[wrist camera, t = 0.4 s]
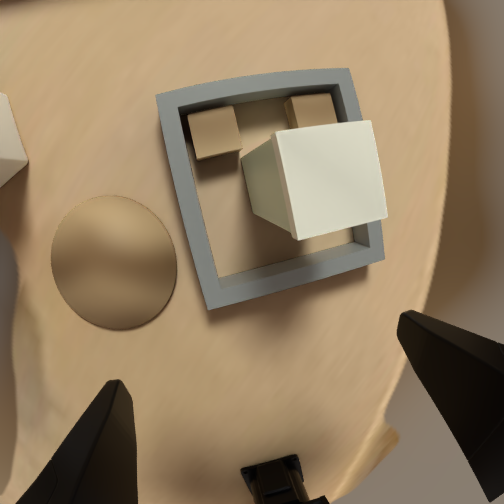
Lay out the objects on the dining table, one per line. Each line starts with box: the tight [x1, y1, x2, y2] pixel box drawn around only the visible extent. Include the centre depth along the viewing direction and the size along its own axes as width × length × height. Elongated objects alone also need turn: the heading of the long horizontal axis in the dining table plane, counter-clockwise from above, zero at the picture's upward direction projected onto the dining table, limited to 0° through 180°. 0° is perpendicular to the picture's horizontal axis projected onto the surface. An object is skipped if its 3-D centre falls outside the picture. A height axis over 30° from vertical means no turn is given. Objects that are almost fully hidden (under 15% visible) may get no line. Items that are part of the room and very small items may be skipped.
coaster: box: [51, 196, 177, 329], centre depth 21 cm, size 10×10×1 cm
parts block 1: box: [187, 105, 243, 161], centre depth 19 cm, size 3×3×2 cm
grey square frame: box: [156, 68, 385, 310], centre depth 20 cm, size 14×13×2 cm
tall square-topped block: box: [241, 120, 388, 240], centre depth 17 cm, size 4×4×10 cm
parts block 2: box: [284, 93, 337, 129], centre depth 20 cm, size 3×3×2 cm
